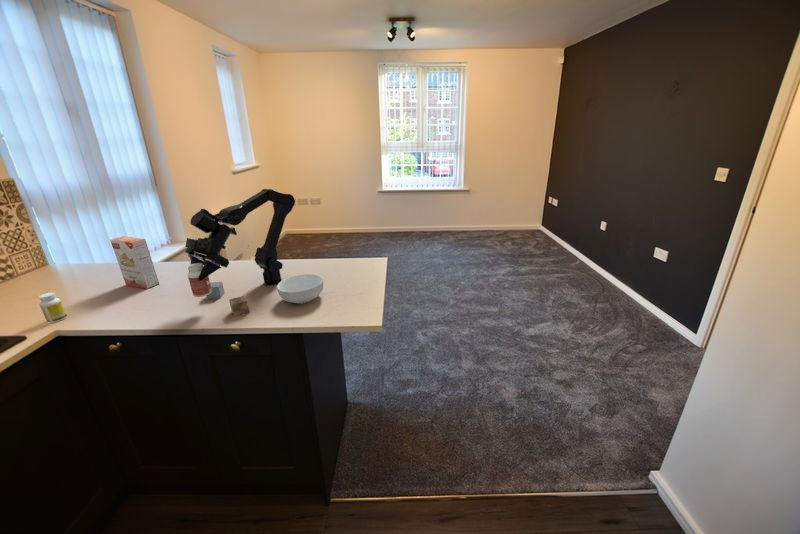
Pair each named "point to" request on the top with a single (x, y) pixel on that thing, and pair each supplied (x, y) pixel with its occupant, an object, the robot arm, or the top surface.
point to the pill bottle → (198, 281)
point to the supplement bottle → (52, 308)
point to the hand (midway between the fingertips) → (194, 278)
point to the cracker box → (135, 261)
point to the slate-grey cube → (216, 290)
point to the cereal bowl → (300, 288)
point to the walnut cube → (239, 306)
